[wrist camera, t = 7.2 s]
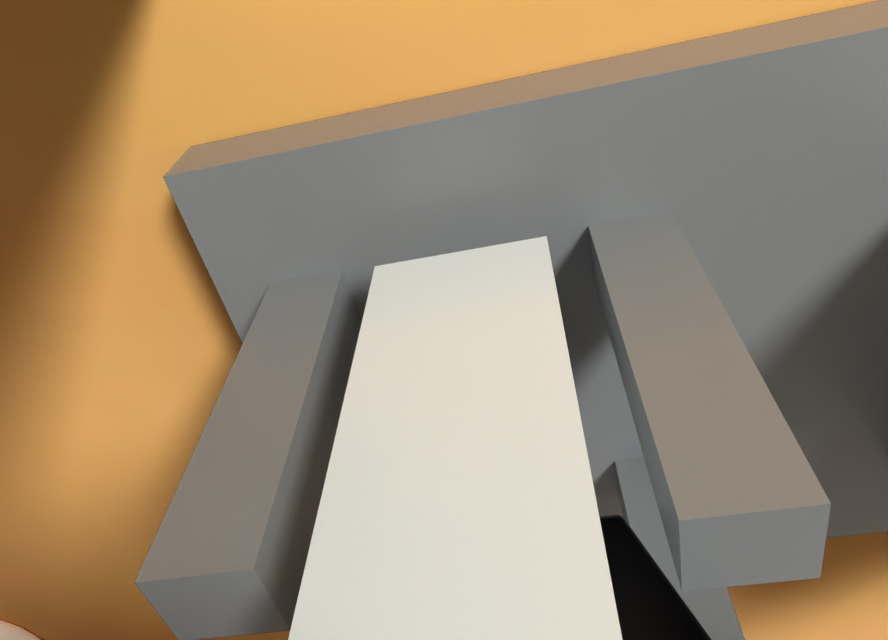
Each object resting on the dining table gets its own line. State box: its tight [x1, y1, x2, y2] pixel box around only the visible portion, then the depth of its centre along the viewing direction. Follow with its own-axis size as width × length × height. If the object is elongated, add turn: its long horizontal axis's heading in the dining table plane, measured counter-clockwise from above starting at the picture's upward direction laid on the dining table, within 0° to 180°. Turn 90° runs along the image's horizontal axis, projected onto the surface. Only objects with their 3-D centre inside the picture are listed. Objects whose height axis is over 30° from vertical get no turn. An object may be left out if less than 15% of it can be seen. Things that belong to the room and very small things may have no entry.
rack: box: [134, 0, 888, 640], centre depth 10 cm, size 10×18×7 cm, turn 102°
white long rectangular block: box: [288, 236, 622, 640], centre depth 9 cm, size 7×2×6 cm, turn 12°
